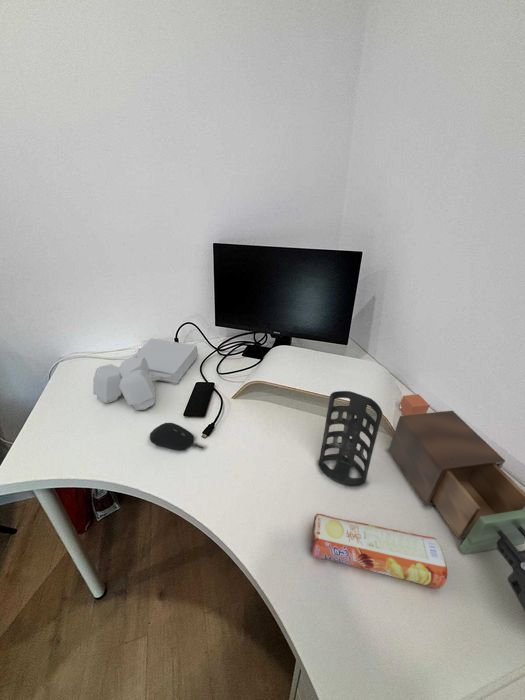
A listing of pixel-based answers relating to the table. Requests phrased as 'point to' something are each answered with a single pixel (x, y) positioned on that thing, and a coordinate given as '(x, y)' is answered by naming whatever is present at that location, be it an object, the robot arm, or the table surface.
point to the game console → (144, 372)
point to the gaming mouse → (172, 437)
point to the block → (413, 405)
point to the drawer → (482, 507)
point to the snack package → (379, 550)
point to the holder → (349, 445)
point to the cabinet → (437, 449)
